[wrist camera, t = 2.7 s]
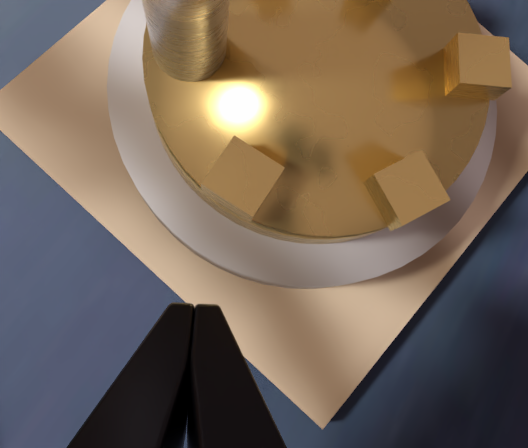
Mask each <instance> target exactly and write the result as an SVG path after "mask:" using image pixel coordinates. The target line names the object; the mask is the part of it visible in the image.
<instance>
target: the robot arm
mask: <svg viewBox="0 0 528 448" xmlns="http://www.w3.org/2000/svg"><path fill="white" fill-rule="evenodd" d="M187 417H188V421H187ZM186 426H187V448H287V447H286V445H285V443H284V441H283V439H282V437H281V434H280V432H279V430H278V428H277V426H276V424H275V422H274V420H273V418H272V415H271V413H270V411H269V409H268V407H267V405H266V403H265V401H264V399H263V396H262V394H261V392H260V390H259V388H258V386H257V384H256V382H255V379H254V377H253V375H252V373H251V371H250V369H249V367H248V365H247V363H246V360H245V358H244V356H243V354H242V352H241V350H240V348H239V346H238V344H237V341H236V339H235V337H234V335H233V333H232V331H231V329H230V327H229V324H228V322H227V320H226V318H225V316H224V314H223V312H222V310H221V308H220V307H219V306H218V305H217V304H197V305H196V306H195V308H194V305H193V304H192V303H171V304H169V305H168V307H167V308H166V309H165V311H164V312H163V314H162V315H161V316H160V318H159V319H158V321H157V322H156V323H155V325H154V326H153V328H152V329H151V330H150V332H149V333H148V335H147V336H146V337H145V339H144V340H143V341H142V343H141V344H140V346H139V347H138V348H137V350H136V351H135V353H134V354H133V355H132V357H131V358H130V360H129V361H128V362H127V364H126V365H125V367H124V368H123V369H122V371H121V372H120V374H119V375H118V376H117V378H116V379H115V381H114V382H113V383H112V385H111V386H110V388H109V389H108V390H107V392H106V393H105V395H104V396H103V397H102V399H101V400H100V402H99V403H98V404H97V406H96V407H95V409H94V410H93V411H92V413H91V414H90V415H89V417H88V418H87V420H86V421H85V422H84V424H83V425H82V427H81V428H80V429H79V431H78V432H77V434H76V435H75V436H74V438H73V439H72V441H71V442H70V443H69V445H68V446H67V448H183V446H184V440H185V434H186Z"/></svg>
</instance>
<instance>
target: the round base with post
mask: <svg viewBox="0 0 528 448" xmlns="http://www.w3.org/2000/svg"><path fill="white" fill-rule="evenodd" d="M142 4H143V8H144V13H145V18H146V28H145V32H144V39H143V55H142V61H143V74H144V83H145V87H146V92H147V96H148V100H149V105H150V108H151V112H152V116H153V119H154V123H155V126H156V129H157V132H158V135H159V137H160V140H161V142H162V145H163V147H164V149H165V151H166V153H167V155H168V157H169V158H170V160H171V162H172V164H173V166H174V167H175V169H176V170H177V171H178V173H179V174H180V175H181V177H182V178H183V179H184V181H185V182H186V183H187V185H188V186H189V187H190V188H191V189H192V190H193V191H194V192H195V193H196V194H197V195H198V196H199V197H200V198H201V199H202V200H203V201H204V202H206V203H207V204H208V205H209V206H211V207H212V208H213V209H214V210H216V211H217V212H218V213H219V214H221V215H223V216H224V217H226V218H228V219H229V220H231V221H233V222H234V223H236V224H237V225H240V226H242V227H244V228H246V229H249V230H251V231H253V232H255V233H258V234H261V235H264V236H267V237H271V238H274V239H277V240H282V241H288V242H294V243H300V244H330V243H339V242H346V241H350V240H354V239H358V238H362V237H365V236H368V235H370V234H373V233H376V232H378V231H381V230H383V229H385V228H387V227H388V228H389V230H390V231H392V230H394V229H397V228H399V227H401V226H403V225H405V224H407V223H409V222H411V221H413V220H415V219H416V218H418V217H420V216H422V215H424V214H426V213H428V212H429V211H431V210H433V209H435V208H437V207H439V206H441V205H442V204H444V203H446V202H448V201H450V198H449V196H448V194H447V193H446V190H447V189H448V188H449V187H450V186H451V185H452V184H453V183H454V182H455V181H456V180H457V178H458V177H459V176H460V174H461V173H462V171H463V170H464V169H465V167H466V166H467V164H468V163H469V161H470V159H471V157H472V156H473V154H474V152H475V150H476V148H477V146H478V144H479V141H480V138H481V135H482V132H483V130H484V127H485V124H486V118H487V113H488V108H489V101H490V100H493V101H494V100H496V99H497V98H498V97H500V96H501V95H503V94H504V93H505V92H507V91H508V90H509V89H511V88H512V80H511V64H510V48H509V38H507V37H498V36H488V35H482V33H481V30H480V27H479V24H478V22H477V20H476V18H475V15H474V13H473V11H472V9H471V7H470V5H469V3H468V2H467V0H142Z"/></svg>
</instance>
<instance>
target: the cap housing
mask: <svg viewBox="0 0 528 448" xmlns="http://www.w3.org/2000/svg"><path fill="white" fill-rule="evenodd" d="M478 24H479V27H480V30H481V33H482V35H488V36H493V35H492V34H491V33H490V32H489V31H488V30H486V29H485V28H484V27H483V26H482V25H481V24H480V23H478ZM145 28H146V18H145V13H144V8H143V4H142V0H106V1H105V2H104V3H103V4H102V5H100V6H99V7H98V8H97V9H96V10H95V11H93V12H92V13H91V14H90V15H89V16H87V17H86V18H85V19H84V20H83V21H82V22H80V23H79V24H78V25H77V26H76V27H74V28H73V29H72V30H71V31H70V32H69V33H67V34H66V35H65V36H64V37H63V38H61V39H60V40H59V41H58V42H57V43H56V44H54V45H53V46H52V47H51V48H50V49H48V50H47V51H46V52H45V53H44V54H43V55H41V56H40V57H39V58H38V59H37V60H35V61H34V62H33V63H32V64H31V65H29V66H28V67H27V68H26V69H25V70H24V71H22V72H21V73H20V74H19V75H18V76H16V77H15V78H14V79H13V80H12V81H11V82H9V83H8V84H7V85H6V86H5V87H3V88H2V89H1V90H0V130H1V131H2V132H3V133H4V134H5V135H6V136H7V137H8V138H9V139H10V140H12V141H13V142H14V143H15V144H16V145H17V146H18V147H19V148H20V149H21V150H22V151H23V152H24V153H26V154H27V155H28V156H29V157H30V158H31V159H32V160H33V161H34V162H35V163H36V164H37V165H38V166H40V167H41V168H42V169H43V170H44V171H45V172H46V173H47V174H48V175H49V176H50V177H51V178H52V179H54V180H55V181H56V182H57V183H58V184H59V185H60V186H61V187H62V188H63V189H64V190H65V191H66V192H68V193H69V194H70V195H71V196H72V197H73V198H74V199H75V200H76V201H77V202H78V203H79V204H80V205H82V206H83V207H84V208H85V209H86V210H87V211H88V212H89V213H90V214H91V215H92V216H93V217H94V218H96V219H97V220H98V221H99V222H100V223H101V224H102V225H103V226H104V227H105V228H106V229H107V230H108V231H110V232H111V233H112V234H113V235H114V236H115V237H116V238H117V239H118V240H119V241H120V242H121V243H122V244H124V245H125V246H126V247H127V248H128V249H129V250H130V251H131V252H132V253H133V254H134V255H135V256H136V257H138V258H139V259H140V260H141V261H142V262H143V263H144V264H145V265H146V266H147V267H148V268H149V269H150V270H152V271H153V272H154V273H155V274H156V275H157V276H158V277H159V278H160V279H161V280H162V281H163V282H164V283H166V284H167V285H168V286H169V287H170V288H171V289H172V290H173V291H174V292H175V293H176V294H177V295H178V296H180V297H181V298H182V299H183V300H184V301H185V302H186V303H192V304H193V305H194V308H195V306H196V305H197V304H217V305H218V306H219V307H220V308H221V310H222V312H223V314H224V316H225V318H226V320H227V322H228V324H229V327H230V329H231V331H232V333H233V335H234V337H235V339H236V341H237V344H238V346H239V348H240V350H241V352H242V354H243V356H244V357H245V358H246V359H247V360H249V361H250V362H251V363H252V364H253V365H254V366H255V367H256V368H257V369H258V370H259V371H260V372H261V373H263V374H264V375H265V376H266V377H267V378H268V379H269V380H270V381H271V382H272V383H273V384H274V385H275V386H277V387H278V388H279V389H280V390H281V391H282V392H283V393H284V394H285V395H286V396H287V397H288V398H289V399H291V400H292V401H293V402H294V403H295V404H296V405H297V406H298V407H299V408H300V409H301V410H302V411H303V412H305V413H306V414H307V415H308V416H309V417H310V418H311V419H312V420H313V421H314V422H315V423H316V424H317V425H319V426H320V427H321V428H322V429H324V427H325V426H326V425H327V423H328V422H329V421H330V420H331V418H332V417H333V416H334V415H335V413H336V412H337V411H338V410H339V408H340V407H341V406H342V405H343V403H344V402H345V401H346V400H347V398H348V397H349V396H350V394H351V393H352V392H353V391H354V389H355V388H356V387H357V386H358V384H359V383H360V382H361V381H362V379H363V378H364V377H365V376H366V374H367V373H368V372H369V371H370V369H371V368H372V367H373V365H374V364H375V363H376V362H377V360H378V359H379V358H380V357H381V355H382V354H383V353H384V352H385V350H386V349H387V348H388V347H389V345H390V344H391V343H392V341H393V340H394V339H395V338H396V336H397V335H398V334H399V333H400V331H401V330H402V329H403V328H404V326H405V325H406V324H407V323H408V321H409V320H410V319H411V318H412V316H413V315H414V314H415V312H416V311H417V310H418V309H419V307H420V306H421V305H422V304H423V302H424V301H425V300H426V299H427V297H428V296H429V295H430V294H431V292H432V291H433V290H434V289H435V287H436V286H437V285H438V283H439V282H440V281H441V280H442V278H443V277H444V276H445V275H446V273H447V272H448V271H449V270H450V268H451V267H452V266H453V265H454V263H455V262H456V261H457V260H458V258H459V257H460V256H461V254H462V253H463V252H464V251H465V249H466V248H467V247H468V246H469V244H470V243H471V242H472V241H473V239H474V238H475V237H476V236H477V234H478V233H479V232H480V231H481V229H482V228H483V227H484V225H485V224H486V223H487V222H488V220H489V219H490V218H491V217H492V215H493V214H494V213H495V212H496V210H497V209H498V208H499V207H500V205H501V204H502V203H503V202H504V200H505V199H506V198H507V196H508V195H509V194H510V193H511V191H512V190H513V189H514V188H515V186H516V185H517V184H518V183H519V181H520V180H521V179H522V178H523V176H524V175H525V174H526V173H527V171H528V66H527V65H526V64H525V63H524V62H523V61H522V60H521V59H519V58H518V57H517V56H516V55H515V54H514V53H513V52H511V51H510V64H511V80H512V88H511V89H509V90H508V91H507V92H505V93H504V94H503V95H501V96H500V97H498V98H497V99H496V100H494V101H493V100H490V101H489V108H488V113H487V118H486V124H485V127H484V130H483V132H482V135H481V138H480V141H479V144H478V146H477V148H476V150H475V152H474V154H473V156H472V157H471V159H470V161H469V163H468V164H467V166H466V167H465V169H464V170H463V171H462V173H461V174H460V176H459V177H458V178H457V180H456V181H455V182H454V183H453V184H452V185H451V186H450V187H449V188H448V189H447V190H446V193H447V194H448V196H449V198H450V201H448V202H446V203H444V204H442V205H441V206H439V207H437V208H435V209H433V210H431V211H429V212H428V213H426V214H424V215H422V216H420V217H418V218H416V219H415V220H413V221H411V222H409V223H407V224H405V225H403V226H401V227H399V228H397V229H394V230H392V231H390V230H389V228H388V227H387V228H385V229H383V230H381V231H378V232H376V233H373V234H370V235H368V236H365V237H362V238H358V239H354V240H350V241H346V242H339V243H330V244H300V243H294V242H288V241H282V240H277V239H274V238H271V237H267V236H264V235H261V234H258V233H255V232H253V231H251V230H249V229H246V228H244V227H242V226H240V225H237V224H236V223H234V222H233V221H231V220H229V219H228V218H226V217H224V216H223V215H221V214H219V213H218V212H217V211H216V210H214V209H213V208H212V207H211V206H209V205H208V204H207V203H206V202H204V201H203V200H202V199H201V198H200V197H199V196H198V195H197V194H196V193H195V192H194V191H193V190H192V189H191V188H190V187H189V186H188V185H187V183H186V182H185V181H184V179H183V178H182V177H181V175H180V174H179V173H178V171H177V170H176V169H175V167H174V166H173V164H172V162H171V160H170V158H169V157H168V155H167V153H166V151H165V149H164V147H163V145H162V142H161V140H160V137H159V135H158V132H157V129H156V126H155V123H154V119H153V116H152V112H151V108H150V105H149V100H148V96H147V92H146V87H145V83H144V74H143V61H142V55H143V39H144V32H145Z"/></svg>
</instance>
